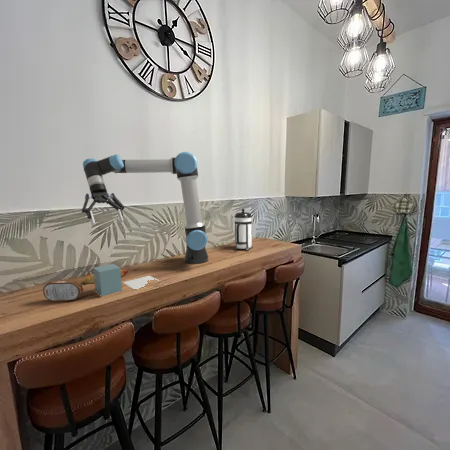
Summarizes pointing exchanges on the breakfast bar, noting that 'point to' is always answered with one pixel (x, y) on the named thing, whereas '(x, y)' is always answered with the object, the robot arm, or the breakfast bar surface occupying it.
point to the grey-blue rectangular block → (107, 279)
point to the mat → (139, 282)
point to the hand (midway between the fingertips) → (108, 223)
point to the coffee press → (243, 230)
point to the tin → (63, 290)
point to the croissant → (91, 280)
